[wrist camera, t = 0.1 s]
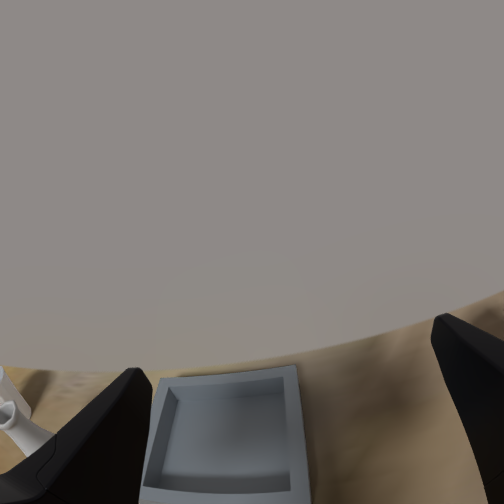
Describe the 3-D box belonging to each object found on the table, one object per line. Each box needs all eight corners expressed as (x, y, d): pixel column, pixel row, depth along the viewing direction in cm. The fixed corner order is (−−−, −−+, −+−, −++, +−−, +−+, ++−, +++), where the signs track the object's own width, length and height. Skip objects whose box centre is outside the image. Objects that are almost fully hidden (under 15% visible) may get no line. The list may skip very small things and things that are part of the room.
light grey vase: (44, 457, 19) (-17, 398, 14) (90, 437, 22) (32, 373, 18) (55, 507, 13) (-22, 453, 9) (108, 488, 16) (33, 431, 12)
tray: (312, 511, 14) (310, 503, 12) (145, 506, 15) (126, 495, 14) (299, 384, 25) (295, 364, 24) (172, 395, 27) (160, 377, 26)
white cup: (39, 419, 24) (5, 381, 21) (8, 443, 19) (-28, 407, 16) (28, 393, 28) (1, 357, 25) (0, 415, 23) (-29, 380, 20)
